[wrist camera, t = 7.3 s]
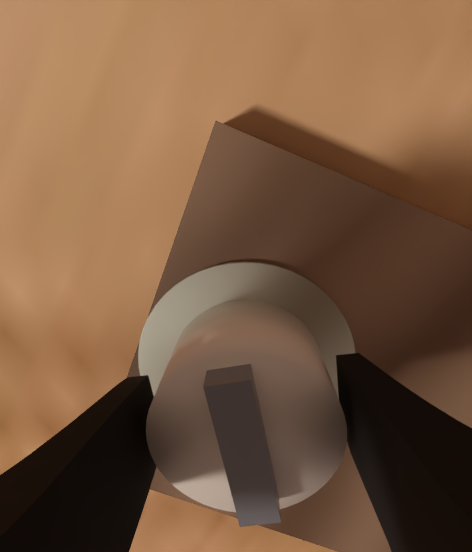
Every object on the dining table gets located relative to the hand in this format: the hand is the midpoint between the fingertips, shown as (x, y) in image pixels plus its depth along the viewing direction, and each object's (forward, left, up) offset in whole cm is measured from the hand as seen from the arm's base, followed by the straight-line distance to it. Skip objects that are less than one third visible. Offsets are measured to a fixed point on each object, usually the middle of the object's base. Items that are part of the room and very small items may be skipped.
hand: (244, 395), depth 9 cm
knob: (0, 0, -1) cm, 1 cm away
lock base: (-5, 0, -3) cm, 6 cm away
